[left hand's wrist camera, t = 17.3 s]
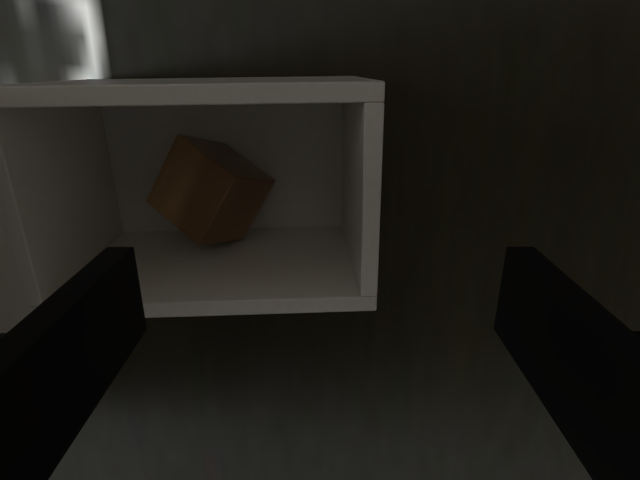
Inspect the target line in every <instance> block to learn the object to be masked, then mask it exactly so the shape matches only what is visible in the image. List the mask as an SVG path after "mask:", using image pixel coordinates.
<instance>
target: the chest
mask: <svg viewBox="0 0 640 480" xmlns="http://www.w3.org/2000/svg"><path fill="white" fill-rule="evenodd" d="M384 100H385V81H381V80H375V79H369V78H363V77H357V76H306V77H230V78H155V79H87V80H70V81H53V82H36V83H20V84H3V85H0V206H1V209H2V213H3V217H4V220H5V224H6V227H7V231H8V235H9V238H10V242H11V246H12V249H13V253H14V257H15V260H16V264H17V268H18V271H19V275H20V279H21V282H22V286H23V290H24V293H25V297H26V301H27V304H28V308H29V312H30V313H31V312H32V311H33V310H34V309H35V308H36V307H38V306H39V305H40V304H41V303H42V302H43V301H45V300H46V299H47V298H48V297H49V296H50V295H52V294H53V293H54V292H55V291H56V290H57V289H59V288H60V287H61V286H62V285H63V284H64V283H66V282H67V281H68V280H69V279H70V278H71V277H73V276H74V275H75V274H76V273H77V272H78V271H80V270H81V269H82V268H83V267H84V266H85V265H87V264H88V263H89V262H90V261H91V260H92V259H94V258H95V257H96V256H97V255H98V254H99V253H101V252H102V251H103V250H104V249H105V248H106V247H134V252H135V258H136V264H137V270H138V277H139V283H140V289H141V295H142V302H143V308H144V314H145V318H157V317H189V316H221V315H253V314H285V313H317V312H349V311H375V310H376V309H377V287H378V261H379V234H380V207H381V180H382V154H383V127H384V103H383V102H384ZM178 134H180V135H185V136H190V137H195V138H200V139H206V140H211V141H216V142H221V143H225V144H227V145H228V146H229V147H231V148H232V149H233V150H235V151H236V152H238V153H239V154H240V155H242V156H243V157H244V158H246V159H247V160H249V161H250V162H251V163H253V164H254V165H255V166H257V167H258V168H260V169H261V170H262V171H264V172H265V173H266V174H268V175H269V176H271V177H272V178H273V179H275V183H274V185H273V187H272V188H271V190H270V192H269V194H268V196H267V197H266V199H265V201H264V203H263V204H262V206H261V208H260V210H259V212H258V213H257V215H256V217H255V219H254V221H253V222H252V224H251V226H250V228H249V229H248V231H247V233H246V235H245V237H244V238H243V239H242V240H235V241H228V242H221V243H214V244H207V245H200V246H199V245H197V244H196V243H195V242H194V241H193V240H191V239H190V238H189V237H188V236H187V235H185V234H184V233H183V232H182V231H181V230H179V229H178V228H177V227H176V226H175V225H173V224H172V223H171V222H170V221H169V220H167V219H166V218H165V217H164V216H163V215H161V214H160V213H159V212H158V211H157V210H155V209H154V208H153V207H152V206H151V205H149V204H148V203H147V202H146V200H147V198H148V196H149V193H150V191H151V189H152V187H153V185H154V183H155V181H156V179H157V176H158V174H159V172H160V170H161V168H162V166H163V164H164V162H165V159H166V157H167V155H168V153H169V151H170V149H171V147H172V145H173V142H174V140H175V138H176V136H177V135H178Z"/></svg>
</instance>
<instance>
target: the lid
mask: <svg viewBox="0 0 640 480" xmlns="http://www.w3.org/2000/svg"><path fill="white" fill-rule="evenodd" d="M29 313H30V312H29V308H28V304H27V301H26V297H25V293H24V290H23V286H22V282H21V279H20V275H19V271H18V268H17V264H16V260H15V257H14V253H13V249H12V246H11V242H10V238H9V235H8V231H7V227H6V224H5V220H4V217H3V213H2V209H1V206H0V333H7V332H8V331H10V330H11V329H12V328H13V327H14V326H15V325H17V324H18V323H19V322H20V321H21V320H22V319H24V318H25V317H26V316H27V315H28V314H29Z"/></svg>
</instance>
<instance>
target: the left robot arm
mask: <svg viewBox="0 0 640 480" xmlns="http://www.w3.org/2000/svg"><path fill="white" fill-rule="evenodd" d="M146 329H147V327H146V320H145V314H144V308H143V302H142V295H141V289H140V283H139V277H138V270H137V264H136V258H135V252H134V247H106V248H105V249H104V250H103V251H102V252H101V253H99V254H98V255H97V256H96V257H95V258H94V259H92V260H91V261H90V262H89V263H88V264H87V265H85V266H84V267H83V268H82V269H81V270H80V271H78V272H77V273H76V274H75V275H74V276H73V277H71V278H70V279H69V280H68V281H67V282H66V283H64V284H63V285H62V286H61V287H60V288H59V289H57V290H56V291H55V292H54V293H53V294H52V295H50V296H49V297H48V298H47V299H46V300H45V301H43V302H42V303H41V304H40V305H39V306H38V307H36V308H35V309H34V310H33V311H32V312H31V313H29V314H28V315H27V316H26V317H25V318H24V319H22V320H21V321H20V322H19V323H18V324H17V325H15V326H14V327H13V328H12V329H11V330H10V331H8V332H7V333H0V480H48V479H49V477H50V476H51V474H52V473H53V471H54V470H55V468H56V467H57V465H58V464H59V462H60V461H61V459H62V458H63V456H64V455H65V453H66V451H67V450H68V448H69V447H70V445H71V444H72V442H73V441H74V439H75V438H76V436H77V435H78V433H79V432H80V430H81V429H82V427H83V426H84V424H85V422H86V421H87V419H88V418H89V416H90V415H91V413H92V412H93V410H94V409H95V407H96V406H97V404H98V403H99V401H100V400H101V398H102V397H103V395H104V394H105V392H106V390H107V389H108V387H109V386H110V384H111V383H112V381H113V380H114V378H115V377H116V375H117V374H118V372H119V371H120V369H121V368H122V366H123V365H124V363H125V361H126V360H127V358H128V357H129V355H130V354H131V352H132V351H133V349H134V348H135V346H136V345H137V343H138V342H139V340H140V339H141V337H142V336H143V334H144V333H145V331H146ZM494 330H495V332H496V333H497V335H498V336H499V338H500V339H501V341H502V342H503V344H504V345H505V347H506V348H507V350H508V351H509V353H510V354H511V356H512V357H513V359H514V361H515V362H516V364H517V365H518V367H519V368H520V370H521V371H522V373H523V374H524V376H525V377H526V379H527V380H528V382H529V383H530V385H531V386H532V388H533V389H534V391H535V393H536V394H537V396H538V397H539V399H540V400H541V402H542V403H543V405H544V406H545V408H546V409H547V411H548V412H549V414H550V415H551V417H552V418H553V420H554V422H555V423H556V425H557V426H558V428H559V429H560V431H561V432H562V434H563V435H564V437H565V438H566V440H567V441H568V443H569V444H570V446H571V447H572V449H573V450H574V452H575V454H576V455H577V457H578V458H579V460H580V461H581V463H582V464H583V466H584V467H585V469H586V470H587V472H588V473H589V475H590V476H591V478H592V479H593V480H640V331H631V330H630V329H629V328H628V327H626V326H625V325H624V324H623V323H622V322H621V321H619V320H618V319H617V318H616V317H615V316H614V315H612V314H611V313H610V312H609V311H608V310H607V309H605V308H604V307H603V306H602V305H601V304H600V303H598V302H597V301H596V300H595V299H594V298H593V297H591V296H590V295H589V294H588V293H587V292H586V291H584V290H583V289H582V288H581V287H580V286H579V285H577V284H576V283H575V282H574V281H573V280H572V279H570V278H569V277H568V276H567V275H566V274H565V273H563V272H562V271H561V270H560V269H559V268H558V267H556V266H555V265H554V264H553V263H552V262H551V261H549V260H548V259H547V258H546V257H545V256H544V255H542V254H541V253H540V252H539V251H538V250H537V249H535V248H534V247H507V250H506V256H505V262H504V268H503V275H502V281H501V287H500V293H499V300H498V306H497V312H496V318H495V324H494Z"/></svg>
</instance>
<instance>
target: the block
mask: <svg viewBox="0 0 640 480" xmlns="http://www.w3.org/2000/svg"><path fill="white" fill-rule="evenodd" d="M274 183H275V179H273V178H272V177H271V176H269V175H268V174H266V173H265V172H264V171H262V170H261V169H260V168H258V167H257V166H255V165H254V164H253V163H251V162H250V161H249V160H247V159H246V158H244V157H243V156H242V155H240V154H239V153H238V152H236V151H235V150H233V149H232V148H231V147H229V146H228V145H227V144H225V143H221V142H216V141H211V140H206V139H200V138H195V137H190V136H185V135H180V134H178V135H177V136H176V138H175V140H174V142H173V145H172V147H171V149H170V151H169V153H168V155H167V157H166V159H165V162H164V164H163V166H162V168H161V170H160V172H159V174H158V176H157V179H156V181H155V183H154V185H153V187H152V189H151V191H150V193H149V196H148V198H147V200H146V202H147V203H148V204H149V205H151V206H152V207H153V208H154V209H155V210H157V211H158V212H159V213H160V214H161V215H163V216H164V217H165V218H166V219H167V220H169V221H170V222H171V223H172V224H173V225H175V226H176V227H177V228H178V229H179V230H181V231H182V232H183V233H184V234H185V235H187V236H188V237H189V238H190V239H191V240H193V241H194V242H195V243H196V244H197V245H199V246H200V245H207V244H214V243H221V242H228V241H235V240H242V239H243V238H244V237H245V235H246V233H247V231H248V229H249V228H250V226H251V224H252V222H253V221H254V219H255V217H256V215H257V213H258V212H259V210H260V208H261V206H262V204H263V203H264V201H265V199H266V197H267V196H268V194H269V192H270V190H271V188H272V187H273V185H274Z"/></svg>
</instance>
